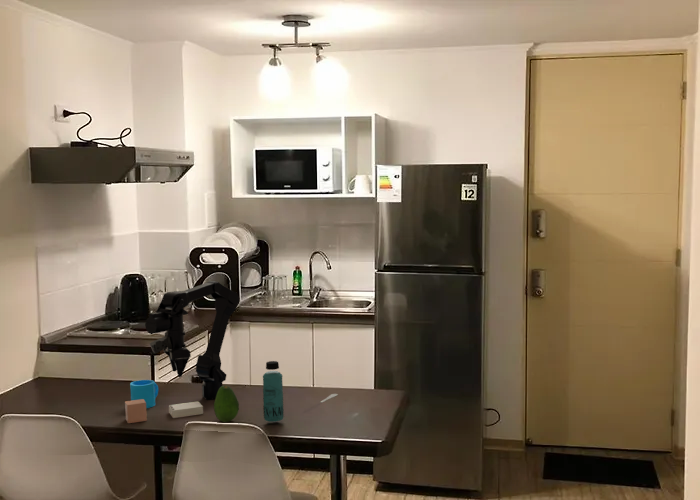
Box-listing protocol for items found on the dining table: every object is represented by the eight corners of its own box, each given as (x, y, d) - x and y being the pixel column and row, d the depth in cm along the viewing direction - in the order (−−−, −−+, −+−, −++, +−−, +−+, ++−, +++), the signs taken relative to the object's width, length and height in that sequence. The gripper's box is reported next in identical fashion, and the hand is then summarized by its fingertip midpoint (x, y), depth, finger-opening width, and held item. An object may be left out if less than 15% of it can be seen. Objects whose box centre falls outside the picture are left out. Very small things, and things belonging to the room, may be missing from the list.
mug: (144, 410, 274) (143, 386, 274) (126, 407, 278) (125, 384, 277) (167, 400, 285) (166, 378, 284) (149, 398, 289) (148, 376, 288)
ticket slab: (198, 408, 274) (198, 401, 274) (203, 413, 268) (202, 406, 268) (169, 412, 270) (168, 405, 270) (173, 418, 264) (172, 410, 264)
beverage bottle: (263, 420, 258) (261, 359, 256) (284, 419, 259) (282, 358, 257) (263, 427, 252) (261, 364, 250) (284, 425, 252) (282, 363, 250)
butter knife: (339, 394, 287) (332, 393, 288) (307, 412, 266) (299, 411, 267) (339, 395, 287) (332, 394, 288) (307, 413, 266) (299, 413, 267)
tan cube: (144, 416, 266) (143, 398, 266) (147, 420, 262) (146, 402, 261) (125, 419, 264) (124, 401, 263) (128, 423, 259) (127, 405, 259)
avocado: (212, 425, 255) (210, 388, 254) (217, 418, 262) (215, 382, 261) (237, 425, 254) (235, 388, 253) (241, 417, 262) (240, 381, 261)
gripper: (146, 327, 278) (148, 371, 279) (155, 336, 261) (158, 383, 262) (178, 323, 282) (180, 367, 284) (189, 332, 265) (192, 378, 267)
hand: (177, 374), depth 274 cm, fingers open, 9 cm apart
